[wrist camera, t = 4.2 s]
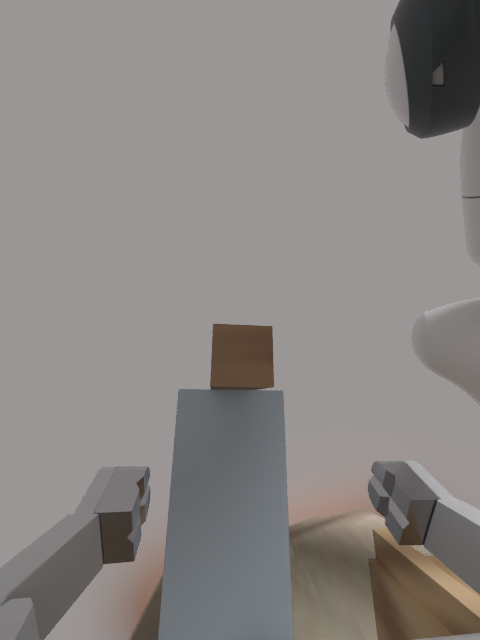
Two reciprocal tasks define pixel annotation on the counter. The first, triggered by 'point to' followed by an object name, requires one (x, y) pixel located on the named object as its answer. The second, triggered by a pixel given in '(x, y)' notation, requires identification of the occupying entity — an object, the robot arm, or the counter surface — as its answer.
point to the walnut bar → (242, 357)
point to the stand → (228, 520)
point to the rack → (418, 594)
